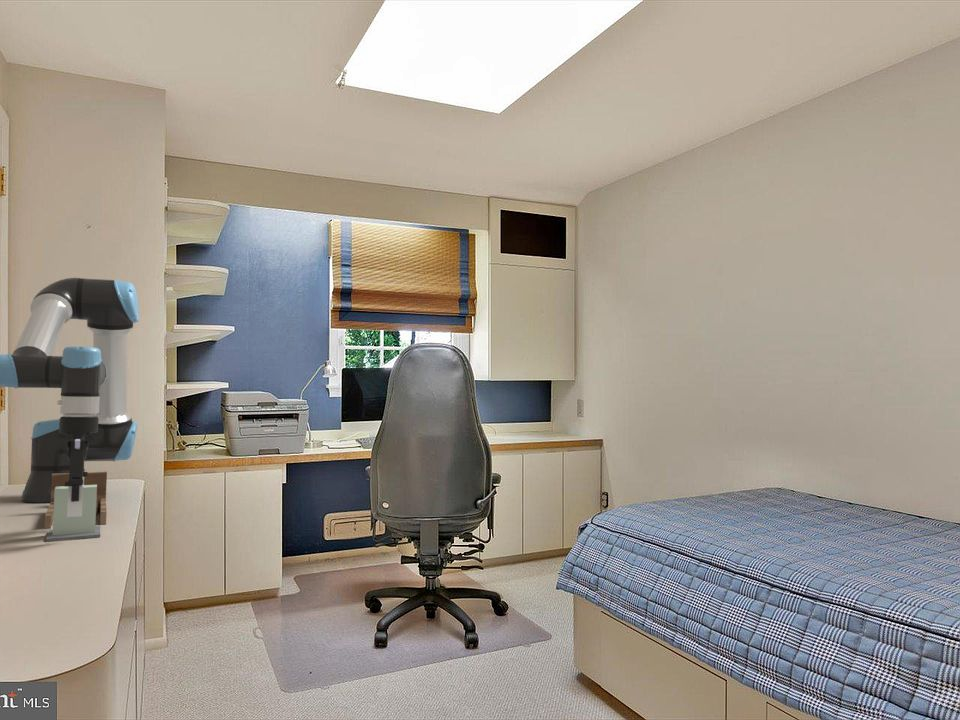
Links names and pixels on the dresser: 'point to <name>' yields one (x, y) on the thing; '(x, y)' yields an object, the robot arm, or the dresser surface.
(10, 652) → the dresser surface
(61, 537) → the rubber pad
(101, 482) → the rack
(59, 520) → the block
